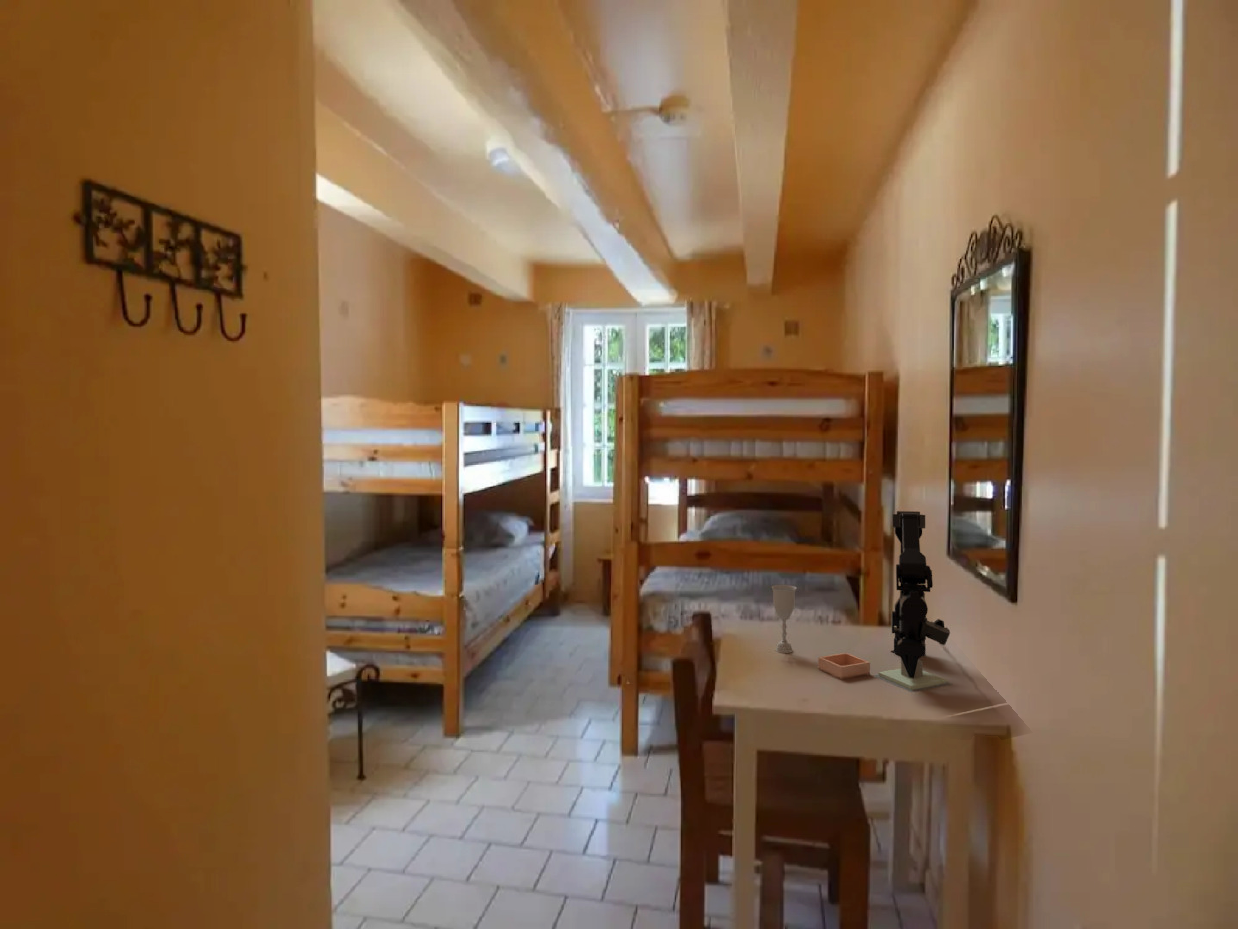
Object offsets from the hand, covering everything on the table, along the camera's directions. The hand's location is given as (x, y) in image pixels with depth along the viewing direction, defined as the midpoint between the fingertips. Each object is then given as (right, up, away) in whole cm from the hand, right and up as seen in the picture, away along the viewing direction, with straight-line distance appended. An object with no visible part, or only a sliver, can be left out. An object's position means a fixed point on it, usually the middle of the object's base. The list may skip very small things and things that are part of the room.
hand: (911, 673), depth 188 cm
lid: (0, -2, 0) cm, 2 cm away
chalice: (-26, -1, +27) cm, 37 cm away
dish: (-15, -2, +7) cm, 16 cm away
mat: (0, -2, 0) cm, 2 cm away
